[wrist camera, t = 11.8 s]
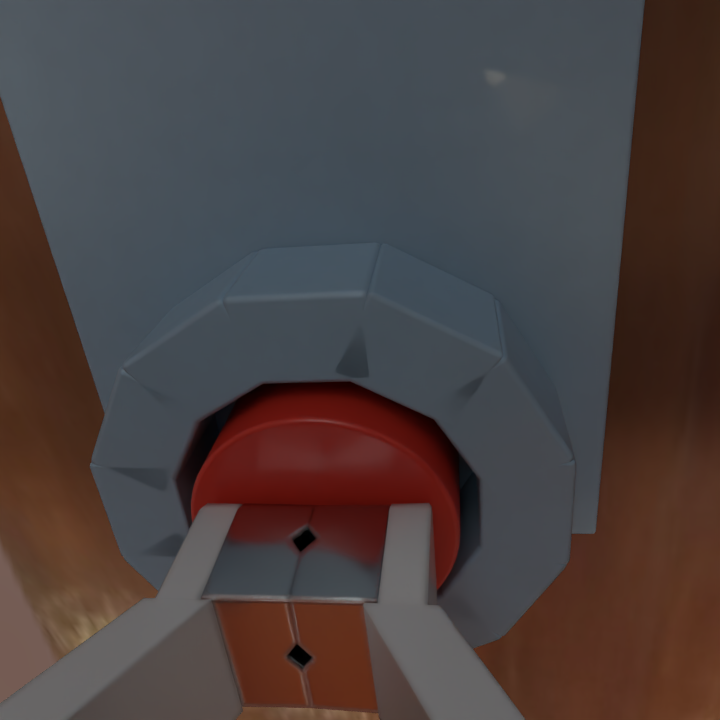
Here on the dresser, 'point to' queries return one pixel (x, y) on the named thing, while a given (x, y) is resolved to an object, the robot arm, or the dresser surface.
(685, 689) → the dresser surface
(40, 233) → the dresser surface
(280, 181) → the button box
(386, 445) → the button
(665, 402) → the dresser surface
